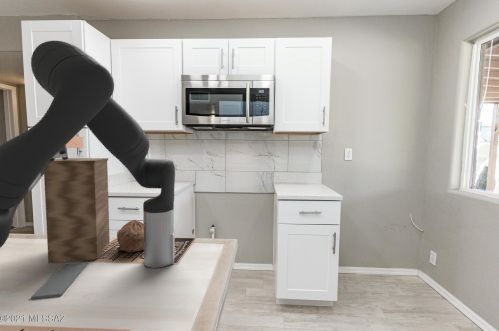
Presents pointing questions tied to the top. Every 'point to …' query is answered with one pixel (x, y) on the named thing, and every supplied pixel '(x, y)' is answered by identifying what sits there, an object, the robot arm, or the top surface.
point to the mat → (60, 281)
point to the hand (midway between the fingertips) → (52, 136)
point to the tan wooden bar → (75, 143)
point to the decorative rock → (131, 236)
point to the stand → (77, 209)
